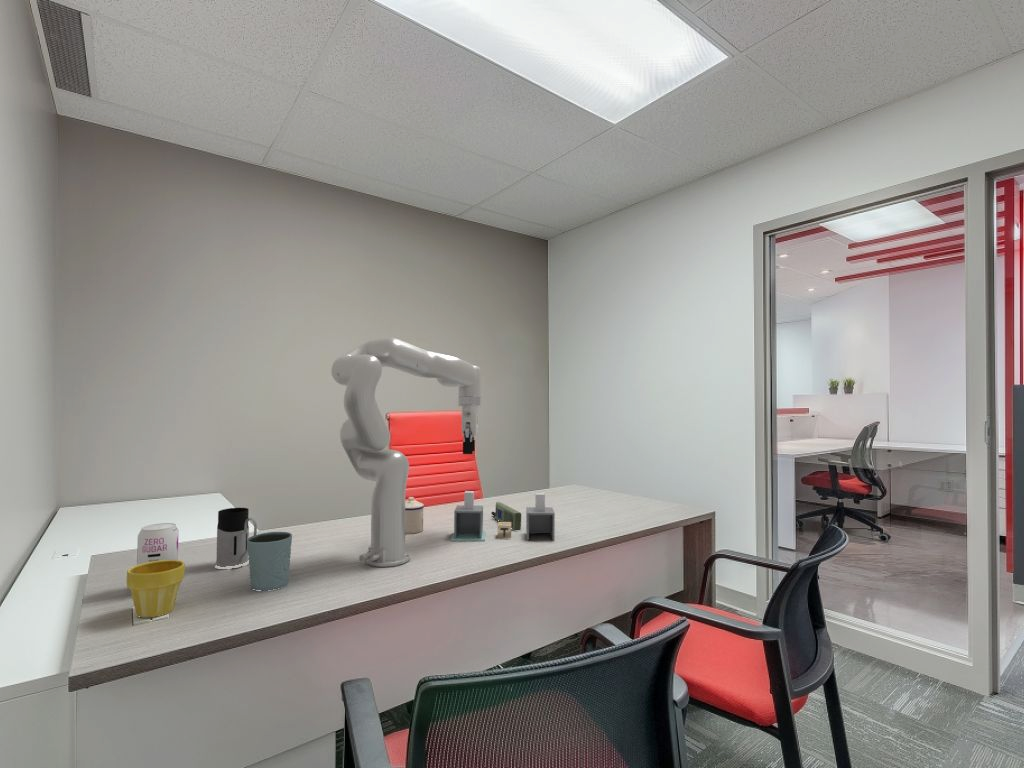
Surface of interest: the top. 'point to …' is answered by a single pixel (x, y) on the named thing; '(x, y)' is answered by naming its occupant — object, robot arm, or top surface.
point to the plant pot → (155, 586)
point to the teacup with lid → (413, 516)
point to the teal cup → (269, 560)
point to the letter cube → (504, 529)
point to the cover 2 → (540, 517)
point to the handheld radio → (507, 515)
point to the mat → (469, 536)
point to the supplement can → (157, 543)
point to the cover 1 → (468, 516)
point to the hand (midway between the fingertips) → (468, 452)
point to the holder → (233, 536)
